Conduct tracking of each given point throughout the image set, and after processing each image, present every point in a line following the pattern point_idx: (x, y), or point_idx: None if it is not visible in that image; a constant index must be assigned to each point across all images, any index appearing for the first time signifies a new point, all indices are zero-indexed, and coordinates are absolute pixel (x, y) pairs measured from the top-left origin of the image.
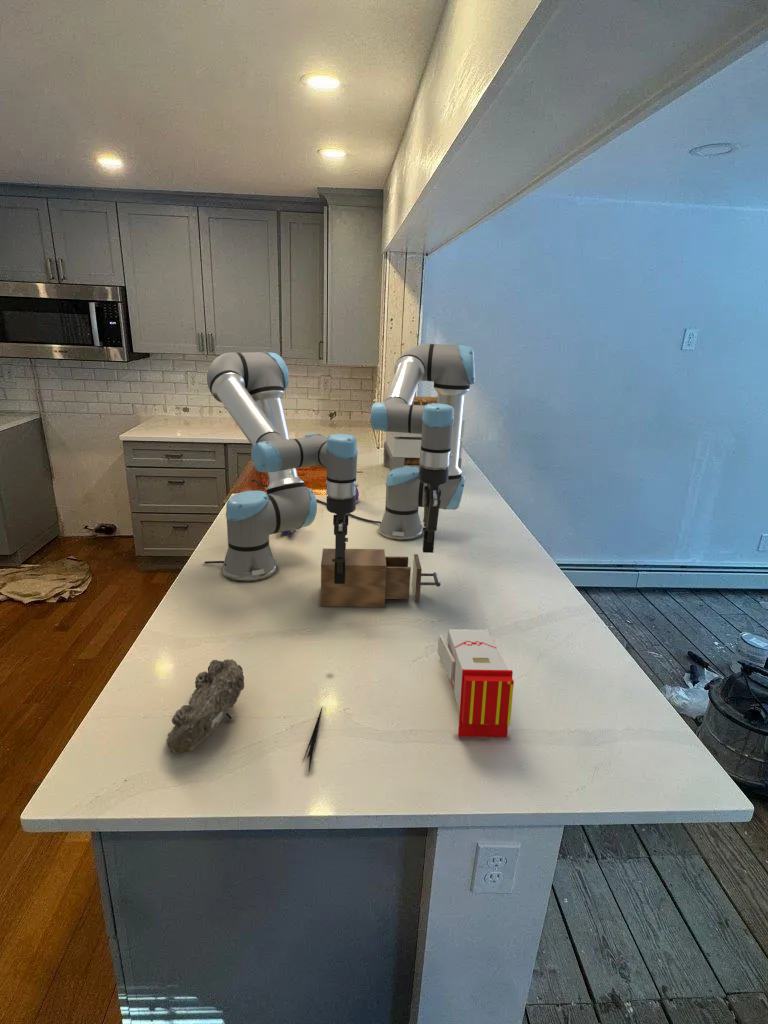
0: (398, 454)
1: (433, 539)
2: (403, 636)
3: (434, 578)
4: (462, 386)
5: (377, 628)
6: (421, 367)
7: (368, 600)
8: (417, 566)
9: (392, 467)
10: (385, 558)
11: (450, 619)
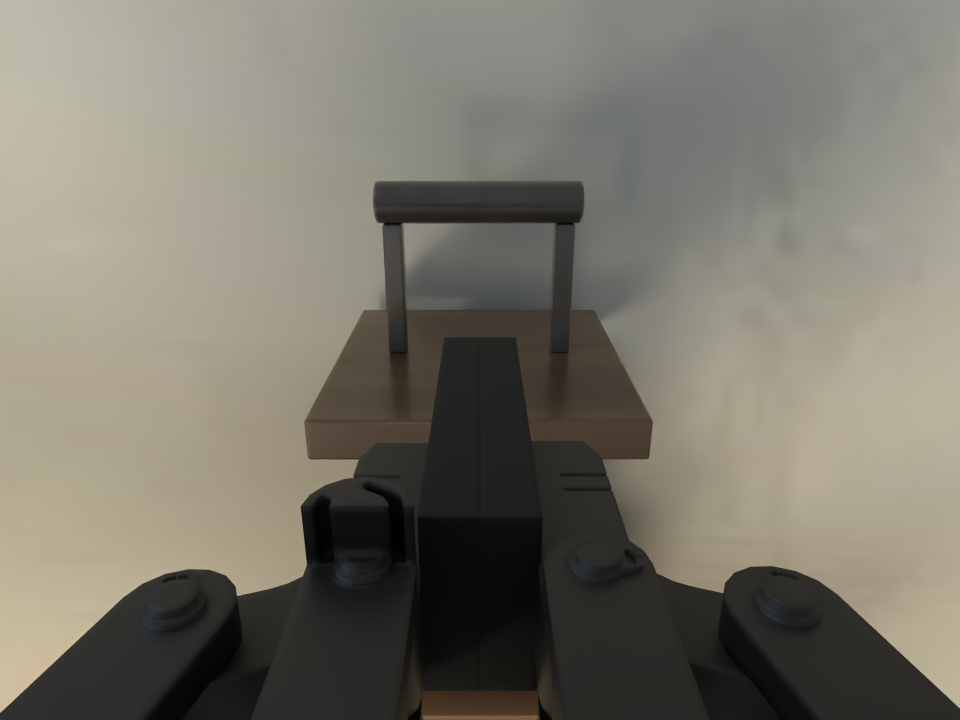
0: None
1: (525, 430)
2: (915, 420)
3: (481, 222)
4: None
5: (812, 536)
6: None
7: None
8: (602, 453)
9: None
10: (502, 715)
11: (775, 112)
